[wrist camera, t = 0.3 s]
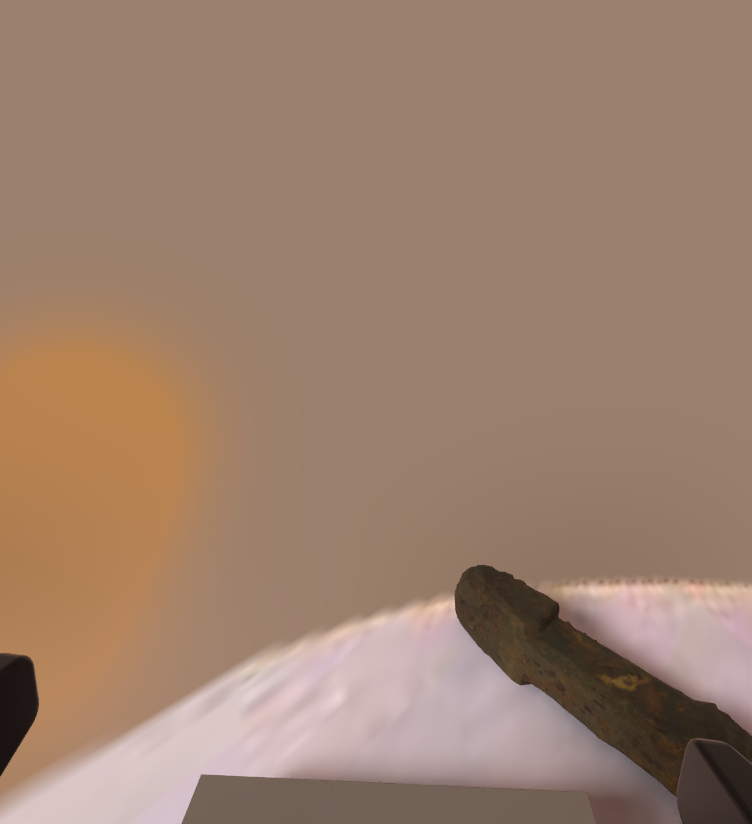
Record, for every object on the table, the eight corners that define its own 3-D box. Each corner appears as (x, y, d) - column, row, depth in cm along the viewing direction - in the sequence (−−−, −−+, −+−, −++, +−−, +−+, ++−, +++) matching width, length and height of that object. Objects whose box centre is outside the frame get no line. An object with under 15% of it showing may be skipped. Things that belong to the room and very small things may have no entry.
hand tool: (893, 885, 19) (930, 788, 18) (848, 973, 17) (886, 872, 16) (491, 601, 34) (492, 535, 33) (440, 630, 32) (439, 561, 30)
